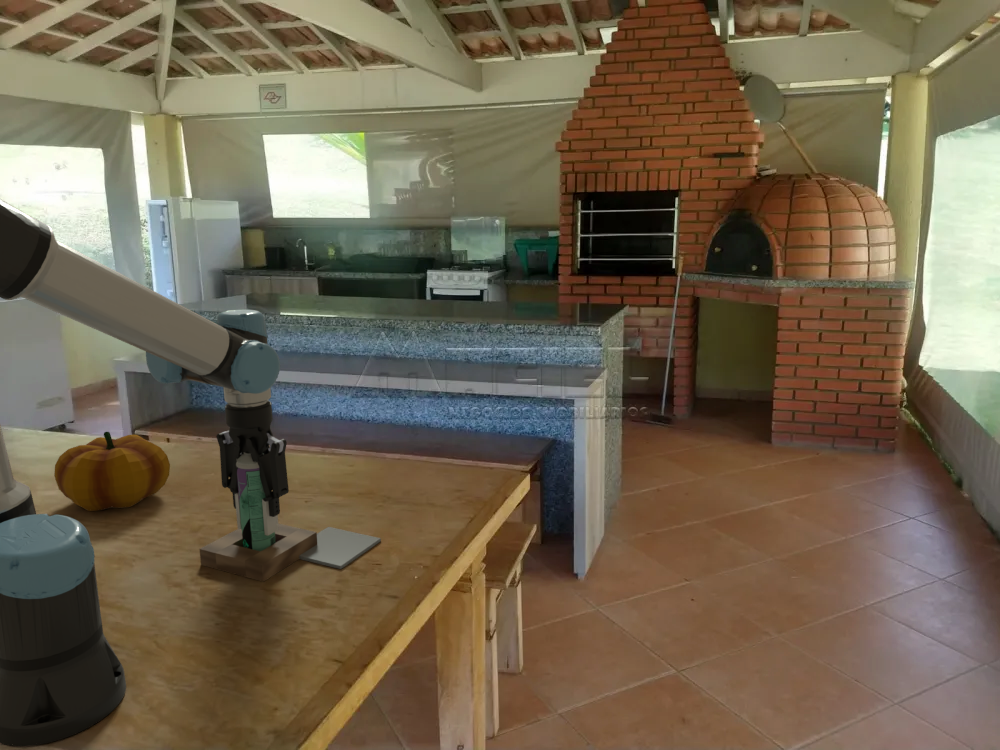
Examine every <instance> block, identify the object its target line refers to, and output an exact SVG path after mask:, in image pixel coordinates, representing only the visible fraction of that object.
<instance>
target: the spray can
mask: <svg viewBox="0 0 1000 750" xmlns="http://www.w3.org/2000/svg"><path fill="white" fill-rule="evenodd" d="M243 453H244V454H243V455H241V456H240V457H239V458H238V459H236V460H237V463H236V468H237V480H238V492H239V503H240V515H241V527H242V539H243V547H244V548H248V549H252V550H256V551H260V552H261V551H262V550H264V549H266V548H268V547H269V546H271V545H273V544H274V543H276V542H275V532H274V533H272V534H270V535H268V536H267V535H265V532H264V519H263V506H262V499H263V498H265V493H264V490H263V486H262V483H261V480H260V472H259V465H258V462H253V461H252V457H251V454H250V453H248V451H246V453H245V452H243ZM263 454H264V453H263ZM263 454H261V455H263ZM261 455H259V456H261Z"/></svg>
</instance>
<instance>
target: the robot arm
mask: <svg viewBox="0 0 1000 750" xmlns="http://www.w3.org/2000/svg"><path fill="white" fill-rule="evenodd" d="M0 298H1V299H3V300H5V301H12V300H16V299H19V298H23V299H25V300H27V301H30V302H32V303H35V304H37V305H39V306H41V307H44V308H46V309H48V310H51V311H53V312H55V313H58V314H59V315H61V316H64V317H67V318H69V319H71V320H73V321H76V322H78V323H80V324H83V325H84V326H87V327H89V328H91V329H93V330H96V331H98V332H101V333H103V334H105V335H107V336H110V337H112V338H114V339H117V340H118V341H121V342H124V343H125V344H128V345H130V346H132V347H135V348H137V349H139V350H141V351H144V352H145V359H146V361H145V362H146V366H147V369H148V371H149V373H150V375H151V376H152V377H153V379H154V380H155V381H157V382H158V383H160V384H164V385H167V384H175V383H176V384H180V383H181V382H182V383H183V382H185V381H193V382H196V383H197V382H198V383H202V384H206V385H210V386H211V385H212V386H216V387H222V388H223V397H224V398H223V399H224V401H225V403H226V404H225V406H224V411H225V423H226V425H227V427H229V429H227V430H226V431H222V432H220V433H217V434H216V440H217V443H218V446H219V459H220V472H221V473H220V474H221V486H222V488H224V489H226V488H228V489H229V490H230V492H231V493H232V504H233V509H235V514H236V515H235V516H236V525H237V529H242V527H241V515H240V503H239V492H238V480H237V468H236V463H237V460H236V459H238V458H239V457H240V456H241V455H243V454H244V453H243V452H245V453H246V451H248V453H250V454H251V457H252V461H253V462H258V465H259V472H260V480H261V483H262V486H263V490H264V493H265V498H263V499H262V506H263V519H264V532H265V535H267V536H268V535H270V534H272V533H274V532H276V531H277V530H279V526H278V524H279V516H278V515H280V513H281V508H280V504H281V503H280V497H283V496H285V495H287V494H288V493H289V492H290V491H289V482H288V481H289V480H288V470H287V463H286V462H287V461H286V459H287V458H286V449H287V440H286V439H284V438H281V439H278V438H277V437H275V436H274V435H273V432H272V429H271V425H272V422H273V420H274V419H273V407H272V406H273V404H272V402H271V400H270V399H271V398H272V392H271V391H272V389H271V388H272V387H273V386H274V385H275V383H276V382H277V380H278V377H279V374H280V370H281V362H280V358H279V355H278V352H277V351H276V350H275V349H274V348H273V346H271V345H269V344H268V338H269V337H268V336H269V335H268V334H267V326H266V325H267V324H266V320H265V315H264V313H262V312H260V311H259V310H254V309H231V310H230V309H229V310H226V311H222V312H219V313H218V314H217V321H216V323H215V322H214V321H212V320H210V319H208V318H207V317H204V316H203V315H200V314H198V313H196V312H195V311H193V310H191V309H189V308H187V307H186V306H183V305H181V304H179V303H178V302H175V301H173V300H171V299H170V298H169V297H166V296H164V295H162V294H160V293H159V292H156V291H154V290H153V289H151V288H149V287H147V286H145V285H143V284H141V283H139V282H137V281H135V280H134V279H132V278H130V277H128V276H126V275H125V274H122V273H121V272H118V271H117V270H114V269H113V268H111V267H108V265H107V266H106V265H105V264H103V263H101V262H100V261H97V260H95V259H94V258H91V257H89V256H88V255H86V254H84V253H82V252H81V251H78V250H76V249H74V248H73V247H70V246H69V245H67V244H66V243H62V242H61V241H59V240H57V239H56V236H55V234H54V231H53V228H52V227H51V226H49V225H48V224H46V223H44V222H42V221H41V220H39V219H37V218H35V217H33V216H32V215H29V214H28V213H26V212H24V211H22V210H20V209H19V208H17V207H15V206H14V205H12V204H10V203H8V202H7V201H5V200H4V199H1V198H0ZM1 425H2V424H0V744H1V745H2V744H3V745H7V746H12V747H13V746H14V747H28V746H38V745H44V744H48V743H53V742H57V741H60V740H62V739H66V738H68V737H71V736H74V735H76V734H78V733H80V732H83V731H85V730H87V729H89V728H90V727H93V726H94V725H96V724H97V723H99V722H101V721H102V720H103V719H104V718H106V717H107V716H108V715H110V713H112V712H113V711H114V710H115V709H116V708H117V707H118V706H119V704H120V703H121V702H122V700H123V698H124V696H125V694H126V691H127V683H126V675H125V670H124V666H123V665H122V663H121V661H120V660H119V658H118V655H117V654H116V653H115V651H114V650H113V647H112V646H111V645H110V642H109V640H107V637H106V636H105V633H104V629H103V621H102V615H101V612H102V611H101V606H100V597H99V588H98V581H97V574H96V565H95V557H96V556H95V550H94V547H93V544H92V542H91V539H90V534H89V532H88V529H87V528H86V526H84V524H83V523H81V521H79V520H77V519H75V518H73V517H71V516H67V515H63V514H53V515H49V514H48V513H37V512H36V511H37V510H36V508H35V507H36V506H35V503H34V499H33V494H32V492H31V488H30V486H29V485H28V484H25V483H23V482H21V481H18V480H16V479H15V478H14V475H13V474H14V473H13V470H12V467H11V463H10V458H9V454H8V450H7V447H6V445H7V444H6V442H5V438H4V434H3V433H4V432H3V430H2V426H1ZM263 453H264V454H263ZM261 454H263V455H261ZM259 455H261V456H259Z"/></svg>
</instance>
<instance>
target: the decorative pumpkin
mask: <svg viewBox="0 0 1000 750" xmlns="http://www.w3.org/2000/svg"><path fill="white" fill-rule="evenodd" d="M111 435H112V434H111V433H110V431H104V432H103V436H100V437H96V438H94V439H93V440H91V441H89V442H88V443H86V444H81V445H77V446H74V447H70V448H68V449H66V450H65V451H64V452H63V453H62V454H60V455H59V457H58V458H57V460H56V463H55V464H54V474H53V475H54V479H55V482H56V484H57V487H58V490H59V491H60V492H61V493H62V494H63V495H64V496H65V497H66V498H67V499H69V500H71V502H73V504H74V505H77V506H79V507H81V508H82V509H84V510H86V511H88V512H96V511H97V512H98V511H103V510H107V509H110V508H115V509H124V508H125V509H127V508H130V507H132V506H135V505H136V504H138V503H139V502H141V501H142V500H145V499H146V498H149V497H150V496H153V495H154V494H157V493H158V492H159V491H160V490H162V488H163V487H164V486H165V485H166V483H167V481H168V478H169V476H170V472H171V471H170V470H171V469H170V468H171V463H170V461H169V457H168V455H167V454H166V452H165V451H164V450H163V448H162V447H160V446H159V445H157V444H155V443H153V442H151V441H149V440H147V439H145V438H143V437H142V436H140V435H138V434H128V435H125V436H120V437H119V438H116V439H114V438H112V436H111Z"/></svg>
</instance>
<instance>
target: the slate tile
mask: <svg viewBox="0 0 1000 750" xmlns="http://www.w3.org/2000/svg"><path fill="white" fill-rule="evenodd" d="M381 541H382V538H381V537H378V536H372V535H367V534H363V533H362V534H361V533H358V532H353V531H349V530H344V529H340V528H336V527H331V526H327V527H326V528H324V529H322V530H320V531H319V532H317V545H316V546H314V547H312V548H311V549H309V550H308V551H306V552H304V553H303V554H301V555H300V556H299V559H298V560H302V561H305V562H310V563H314V564H317V565H318V564H319V565H323V566H327V567H331V568H335V569H339V570H341V569H343V568H345V567H346V566H348V565H349V564H351V563H352V562H353V561H355V560H356V559H357V558H359V557H361V556H362V555H364V553H366V552H368V551H369V550H371V549H372V548H373V547H375V546H376V545H377V544H379V543H380V542H381Z"/></svg>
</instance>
